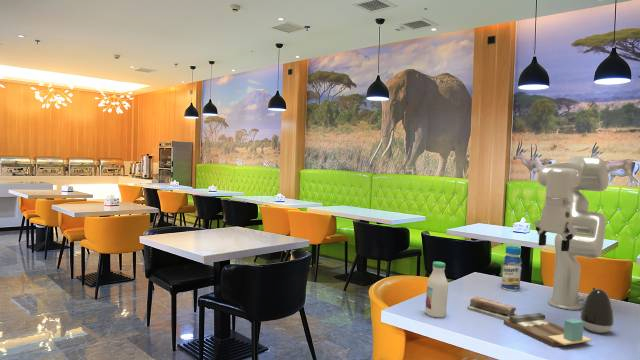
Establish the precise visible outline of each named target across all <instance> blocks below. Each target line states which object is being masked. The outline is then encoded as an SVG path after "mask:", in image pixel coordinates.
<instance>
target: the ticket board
mask: <svg viewBox="0 0 640 360" xmlns="http://www.w3.org/2000/svg"><path fill="white" fill-rule="evenodd" d="M503 325H505V326H507V327H509V328H511V329H513V330H516V331H518V332H520V333H523V334H524V335H526V336H528V337H531V338H533V339H535V340H536V341H539V342H541V343H544V344H546V345H547V346H550V347H552V348H554V347H555V348H557V347H561V346H564V345H563V344H561V343H558V342H556V341H554V340H552V339H549V338H548V336H555V335H562V334H564V327H563V326H561V325H557V324H555V323H553V322H551V321H548V320H546V314H544V313H541V312H534V313H527V314H520V315H516V316H510V318H509V320H503ZM581 343H584V342H581ZM581 343H580V344H581ZM567 345H570V344H567ZM567 345H566V346H567ZM573 345H577V343H574V344H573Z"/></svg>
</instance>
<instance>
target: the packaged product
mask: <svg viewBox="0 0 640 360" xmlns="http://www.w3.org/2000/svg"><path fill="white" fill-rule="evenodd" d="M469 303H470V304H469V305H468V306H467V307H466V308H467V310H469V311H472V312H476V313H479V314H482V315H485V316H489V317H492V318H495V319H498V320H501V321H504V320H509V318H510V316H516V315H521V314H520V313H519V314H518V313H517V312H516V310H517V308H516V307H515V306H512V305H508V304H505V303H502V302H499V301H496V300H495V301H494V300H492V299H488V298H485V297H481V296H476V297H472V298H471V299H470V301H469Z"/></svg>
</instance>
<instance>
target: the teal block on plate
mask: <svg viewBox="0 0 640 360" xmlns="http://www.w3.org/2000/svg"><path fill="white" fill-rule="evenodd" d="M563 325H564V327H563V328H564V334H562V335H555V336H548V338H549V339H552V340H554V341H556V342H558V343H561V344H563V346H567V344H569V345H575V344H574V343H576V344H581V342H583V343H587V342H592V341H593V338H589V336H588V337H587V336H585V335H583V334H584V322H582V320H580V319H577V318H571V319H565V320H564V324H563Z"/></svg>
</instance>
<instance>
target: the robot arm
mask: <svg viewBox="0 0 640 360" xmlns="http://www.w3.org/2000/svg"><path fill="white" fill-rule="evenodd" d="M537 181H538V184H539V185H540V186H541V187H545V200H544V205H543V207H542V210H541V216H540V219H539V220H537V221H534V223H533V224H534V227H535V231H536V232H537V235H538V246H541V247H542V246H546V245H547V233H551V234H556V235H555V237H554V249H555V262H554V273H553V274H554V275H553V287H552V298H549V299H548V300H547V301H548V302H547V303H548V305H550V306H553V307H555V308H558V309H563V310H569V311H578V310H582V308H583V306H582V304H581V303H580V302H585V300H586V298H585V296H584V295H581V296H580V295H579V293H580V292H579V291H580V278H581V277H580V276H581V264H580V261H578V259H577V257H583V258H584V257H585V258H588V259H589V258H591V259H597V258H599V257H600V256H601V255H602V252H603V248H604V247H603V246H604V240H605V234H606V227H607V219H606V216H605V214H603V213H601V212H597V211H588V210H589V206H590V202H589V200H588V199H587V197H586V196H585V195H584V194H583V192H581V191H588V192H589V191H590V192H604V191H605V190H607V188H608V186H609V175H608V169H607V165H606V163H605V161H604V159H603V158H601V157H599V156H579V155H577V156H572V157H570V158H568V159H566V161H560V162H554V163H548V164H546V165H544V166H542V167H541V168H540V170H539V171H538V175H537ZM576 256H577V257H576Z"/></svg>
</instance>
